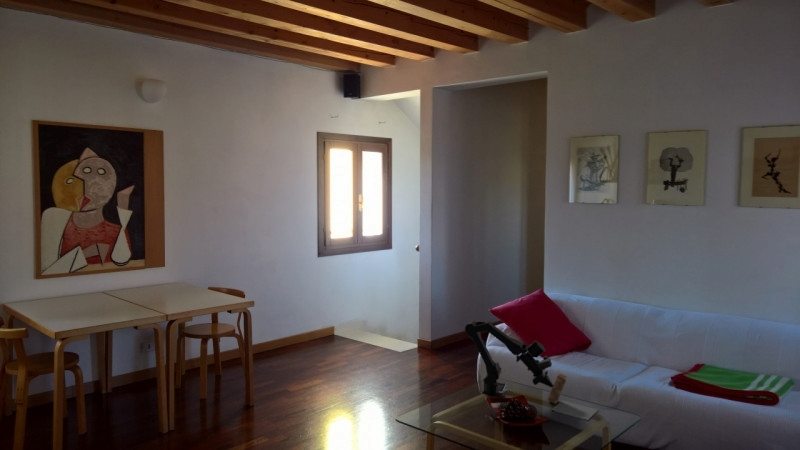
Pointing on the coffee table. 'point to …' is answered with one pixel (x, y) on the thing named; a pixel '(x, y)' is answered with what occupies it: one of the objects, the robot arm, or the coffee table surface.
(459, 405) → the coffee table surface
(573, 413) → the mat
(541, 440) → the coffee table surface
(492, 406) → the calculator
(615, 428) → the coffee table surface
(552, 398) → the block
